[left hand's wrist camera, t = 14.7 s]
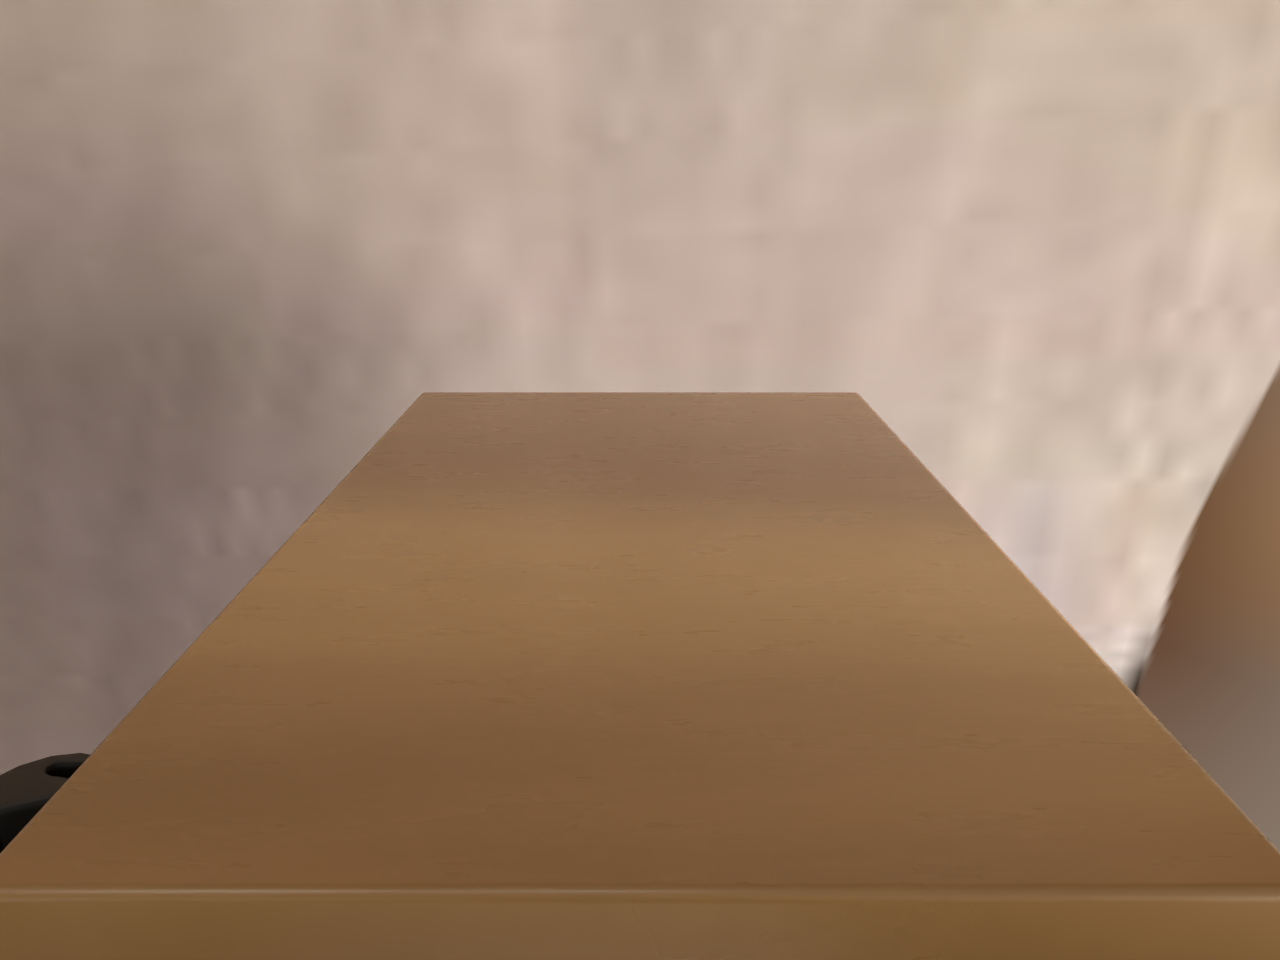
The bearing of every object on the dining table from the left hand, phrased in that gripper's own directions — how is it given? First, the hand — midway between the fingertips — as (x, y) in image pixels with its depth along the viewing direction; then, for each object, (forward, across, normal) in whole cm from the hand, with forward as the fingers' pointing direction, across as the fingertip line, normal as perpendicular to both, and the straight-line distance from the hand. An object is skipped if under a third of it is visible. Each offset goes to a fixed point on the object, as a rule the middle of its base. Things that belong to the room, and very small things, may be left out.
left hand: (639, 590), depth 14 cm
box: (+1, 0, -10) cm, 10 cm away
